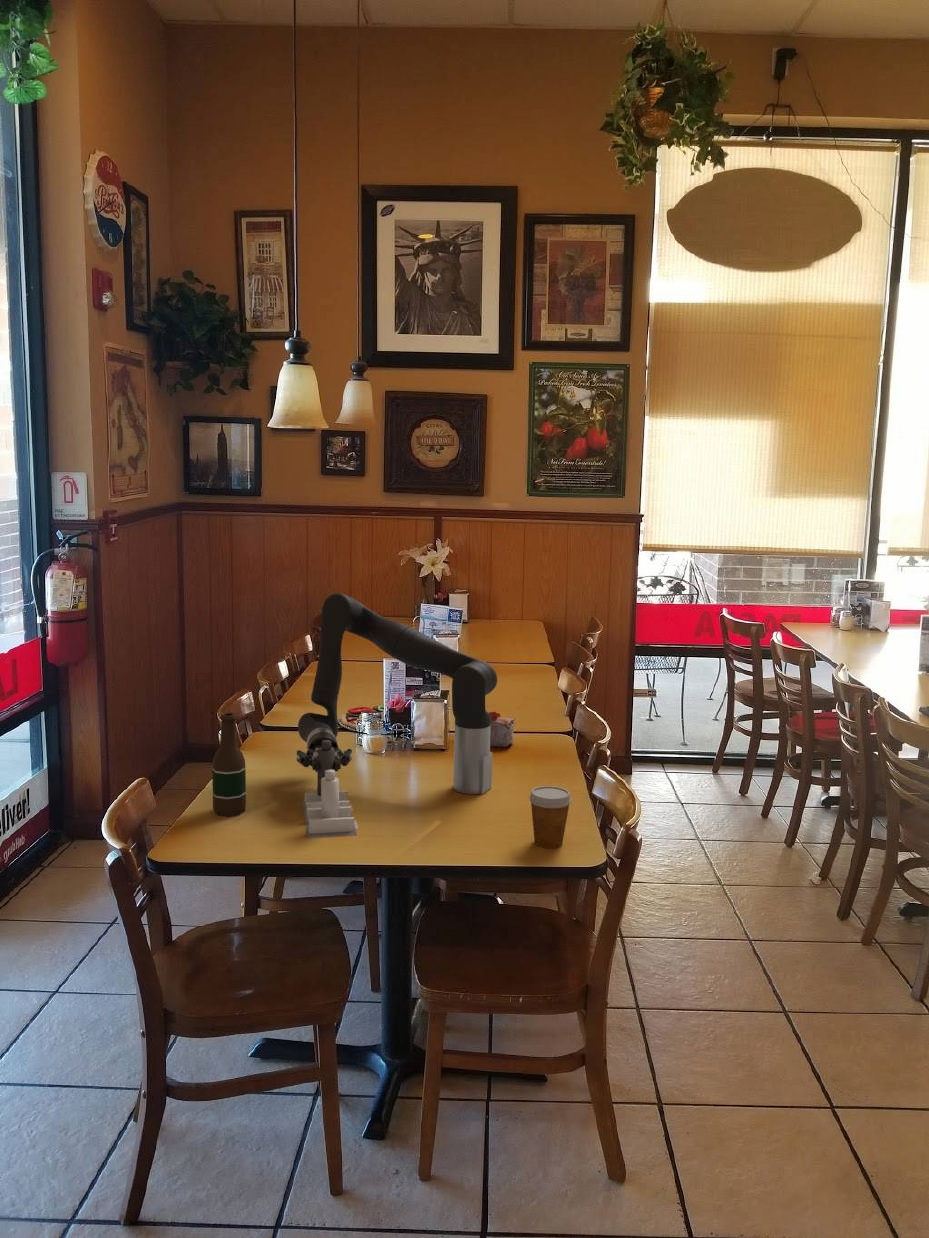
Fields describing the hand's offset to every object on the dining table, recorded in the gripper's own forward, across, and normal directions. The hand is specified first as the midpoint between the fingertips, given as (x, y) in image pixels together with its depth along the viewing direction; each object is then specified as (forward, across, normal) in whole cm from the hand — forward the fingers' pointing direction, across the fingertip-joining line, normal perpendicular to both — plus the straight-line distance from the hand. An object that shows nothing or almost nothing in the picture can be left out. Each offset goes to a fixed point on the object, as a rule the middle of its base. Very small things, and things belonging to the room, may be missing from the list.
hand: (327, 767), depth 239 cm
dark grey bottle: (-3, 0, +8) cm, 8 cm away
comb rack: (+3, 0, +13) cm, 13 cm away
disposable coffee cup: (+22, +48, +12) cm, 54 cm away
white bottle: (+9, 0, +11) cm, 14 cm away
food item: (-55, +53, +13) cm, 78 cm away
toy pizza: (-82, +23, +14) cm, 87 cm away
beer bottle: (-8, -22, +13) cm, 27 cm away
